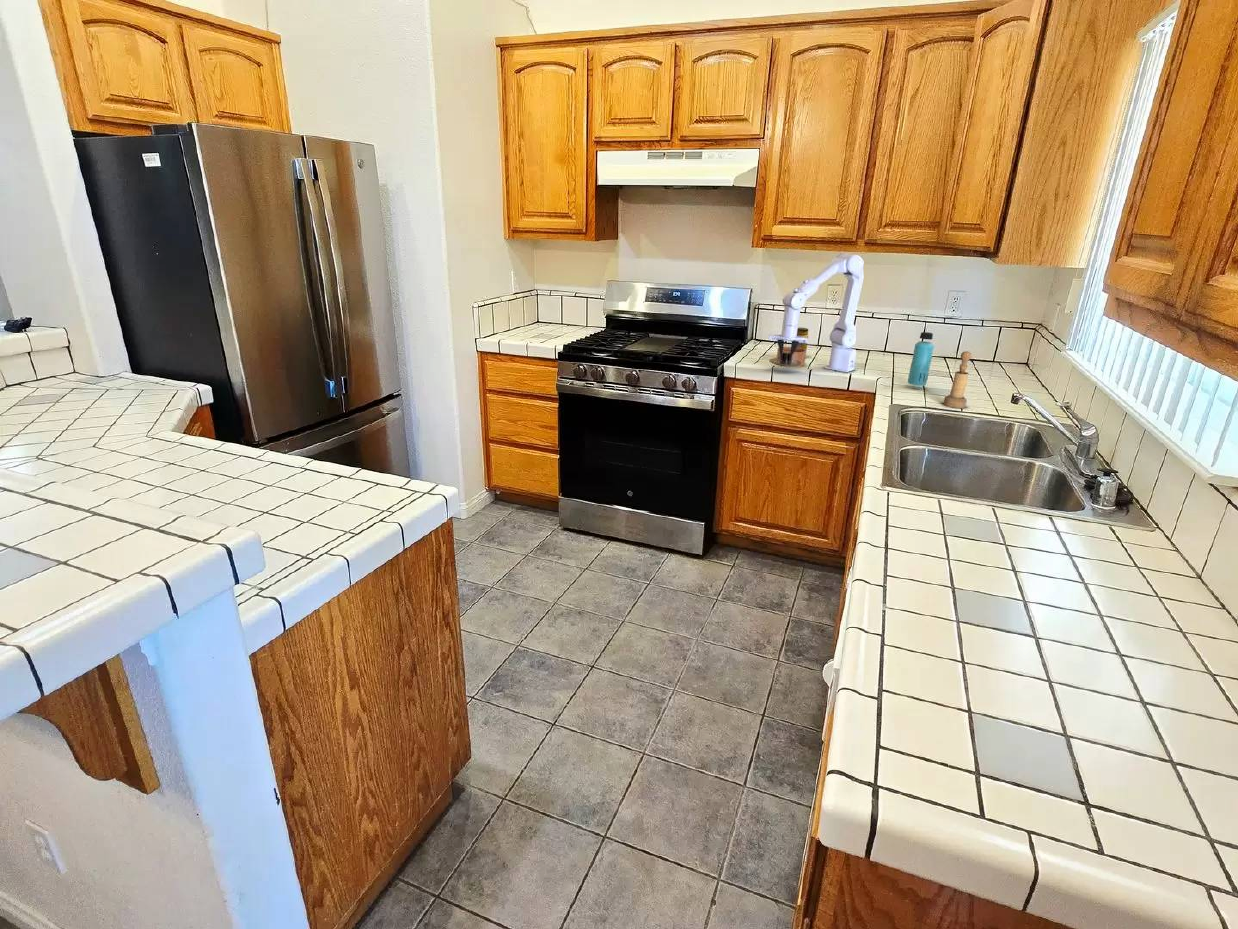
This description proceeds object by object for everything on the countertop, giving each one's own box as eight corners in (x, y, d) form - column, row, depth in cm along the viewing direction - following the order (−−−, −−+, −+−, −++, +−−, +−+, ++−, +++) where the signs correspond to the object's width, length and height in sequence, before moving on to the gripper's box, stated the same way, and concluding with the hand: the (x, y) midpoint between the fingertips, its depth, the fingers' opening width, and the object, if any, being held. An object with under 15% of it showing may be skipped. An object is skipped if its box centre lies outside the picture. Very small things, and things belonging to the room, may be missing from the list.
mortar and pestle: (944, 406, 213) (956, 352, 207) (942, 401, 219) (954, 348, 212) (966, 409, 211) (979, 354, 204) (964, 404, 217) (977, 350, 210)
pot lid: (806, 364, 253) (808, 353, 251) (790, 369, 245) (792, 357, 243) (779, 359, 261) (780, 348, 259) (763, 363, 253) (764, 351, 251)
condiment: (809, 356, 281) (813, 328, 276) (798, 359, 275) (803, 330, 271) (794, 353, 286) (798, 326, 281) (784, 355, 280) (787, 328, 276)
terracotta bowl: (809, 364, 266) (811, 350, 264) (795, 368, 258) (797, 353, 256) (785, 359, 273) (787, 345, 271) (770, 363, 266) (772, 348, 263)
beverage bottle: (916, 390, 232) (928, 334, 225) (902, 385, 237) (913, 331, 230) (929, 389, 234) (941, 333, 227) (915, 384, 240) (926, 330, 233)
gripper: (809, 324, 249) (804, 359, 254) (771, 321, 252) (767, 356, 257) (810, 327, 243) (804, 363, 248) (770, 324, 246) (766, 359, 251)
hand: (785, 359), depth 252 cm, fingers closed on pot lid, 2 cm apart
